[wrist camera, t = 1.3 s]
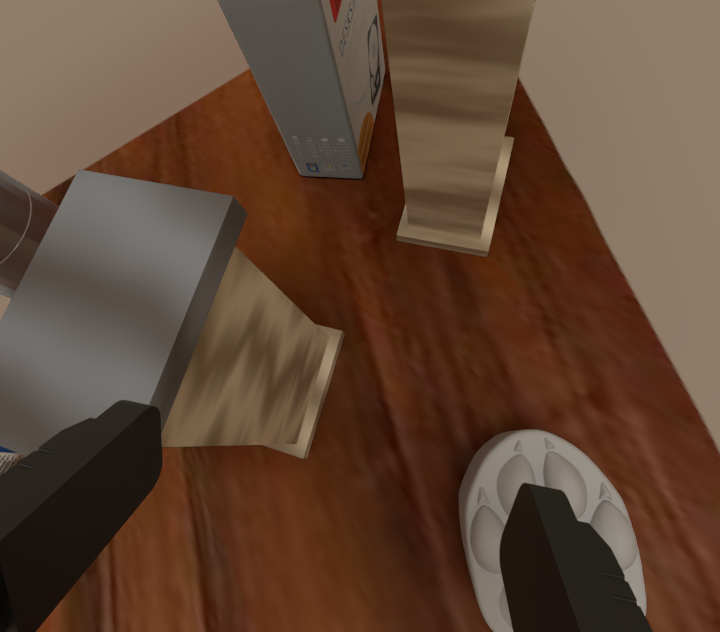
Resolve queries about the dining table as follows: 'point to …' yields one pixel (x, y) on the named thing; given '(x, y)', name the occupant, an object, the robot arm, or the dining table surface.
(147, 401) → the lower stand
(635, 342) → the dining table surface
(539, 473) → the lumpy-topped squat cylinder
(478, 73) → the stand
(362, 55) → the hard drive box
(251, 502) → the dining table surface
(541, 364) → the dining table surface
